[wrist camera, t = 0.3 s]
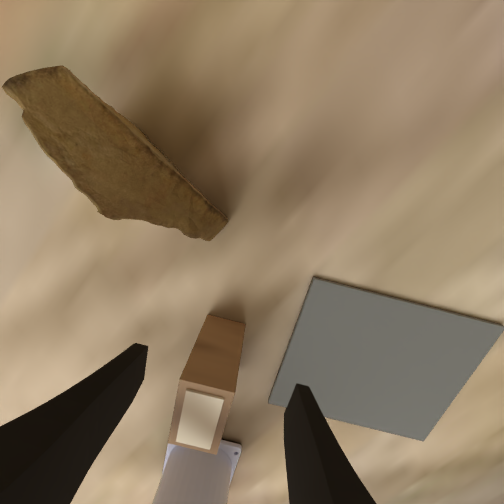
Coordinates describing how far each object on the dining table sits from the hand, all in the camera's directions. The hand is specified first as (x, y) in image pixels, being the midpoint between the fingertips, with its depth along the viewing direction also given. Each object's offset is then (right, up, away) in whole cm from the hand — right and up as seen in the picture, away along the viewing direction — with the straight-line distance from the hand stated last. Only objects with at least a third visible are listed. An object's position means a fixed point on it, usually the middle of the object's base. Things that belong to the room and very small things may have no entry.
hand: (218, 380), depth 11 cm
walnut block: (-1, -3, +11) cm, 11 cm away
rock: (-5, +11, +7) cm, 14 cm away
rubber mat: (+13, -4, +10) cm, 17 cm away
